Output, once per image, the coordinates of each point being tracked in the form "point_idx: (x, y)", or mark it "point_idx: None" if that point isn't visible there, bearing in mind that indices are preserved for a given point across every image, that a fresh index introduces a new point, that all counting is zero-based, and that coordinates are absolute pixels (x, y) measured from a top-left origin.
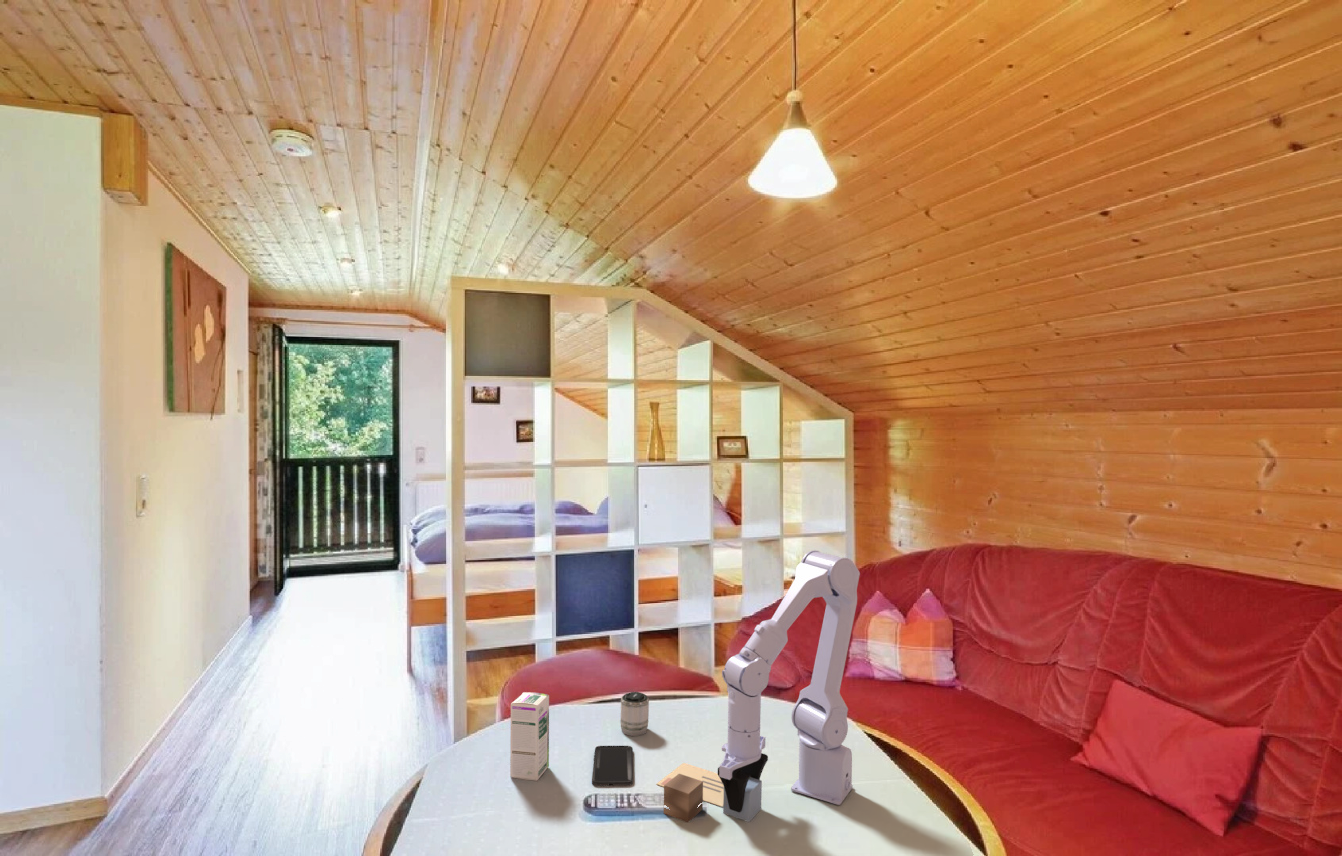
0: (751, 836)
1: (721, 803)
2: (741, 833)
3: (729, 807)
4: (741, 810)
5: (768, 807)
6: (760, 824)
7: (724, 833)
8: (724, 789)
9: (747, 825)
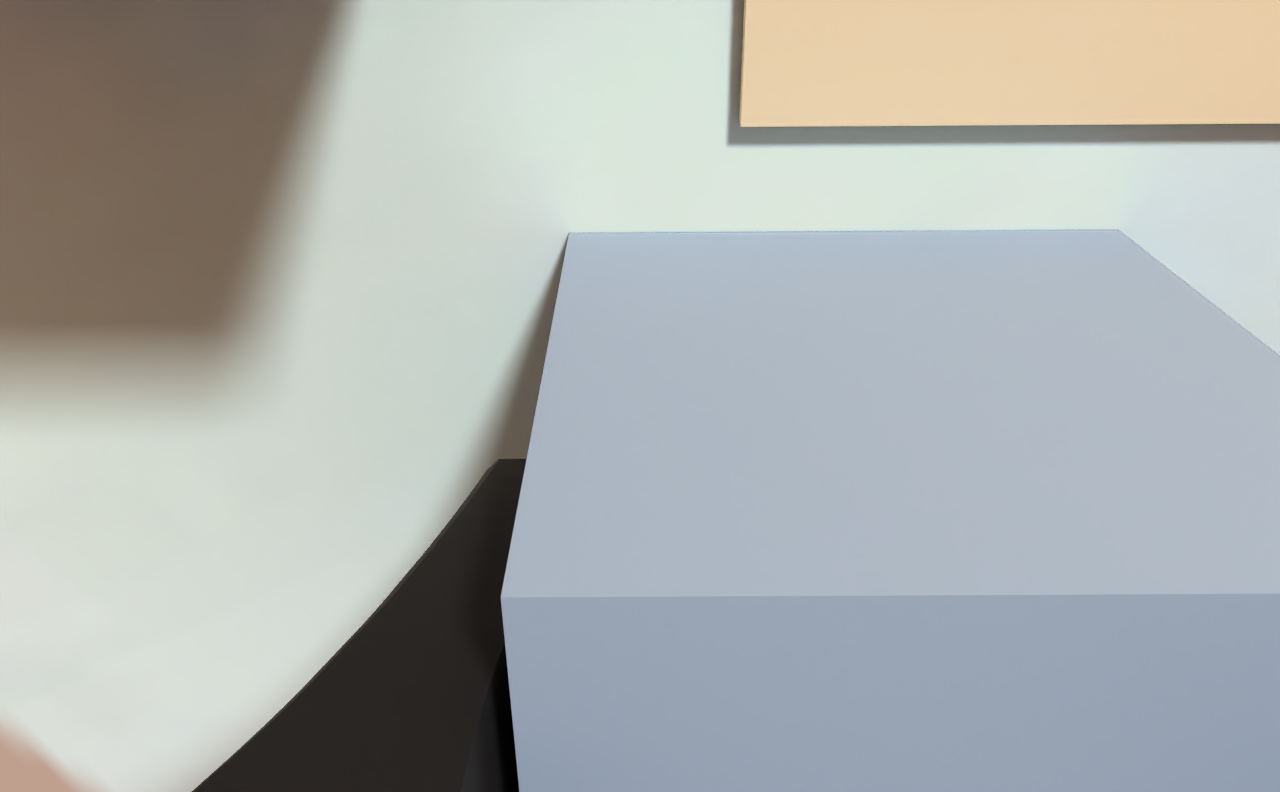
0: None
1: (834, 60)
2: (268, 671)
3: (481, 481)
4: None
5: None
6: None
7: (77, 507)
8: (517, 521)
9: None
